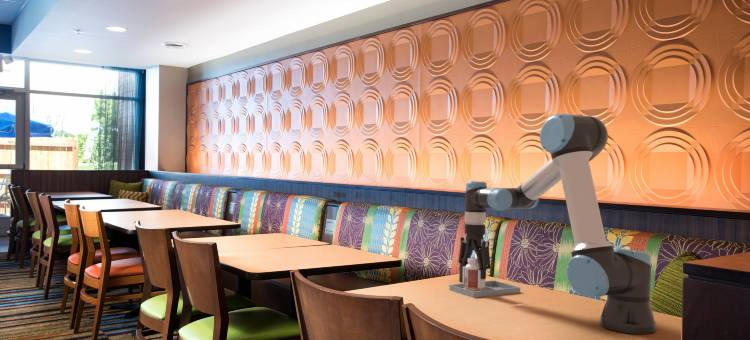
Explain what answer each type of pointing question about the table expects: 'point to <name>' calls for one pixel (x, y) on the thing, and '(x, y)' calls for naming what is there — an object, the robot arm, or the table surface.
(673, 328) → the table surface
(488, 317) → the table surface
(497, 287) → the caddy
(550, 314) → the table surface
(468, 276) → the pill bottle
